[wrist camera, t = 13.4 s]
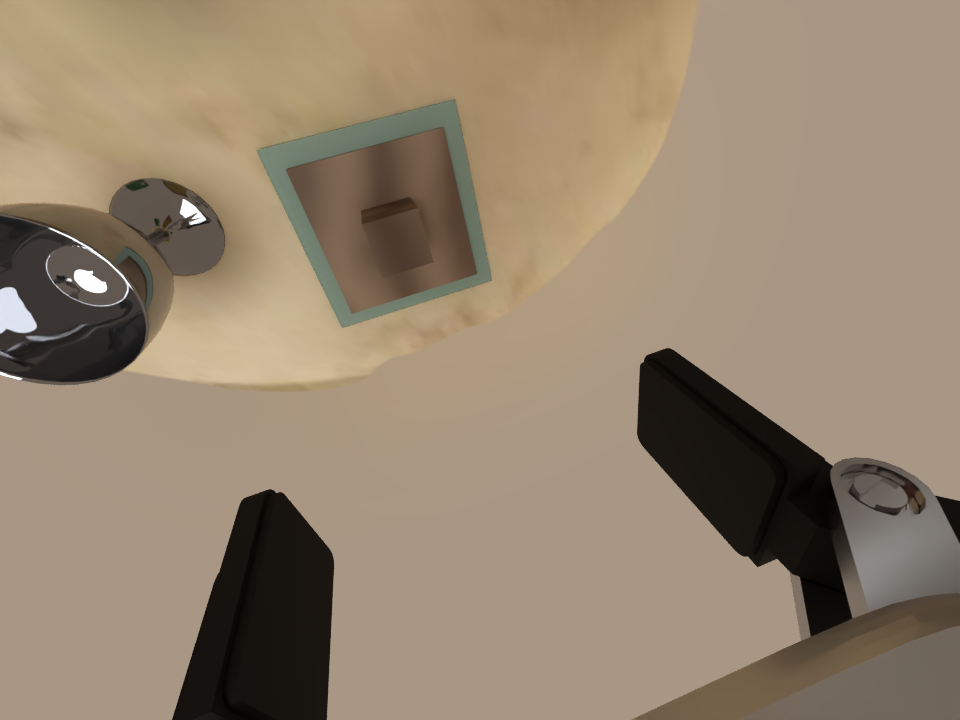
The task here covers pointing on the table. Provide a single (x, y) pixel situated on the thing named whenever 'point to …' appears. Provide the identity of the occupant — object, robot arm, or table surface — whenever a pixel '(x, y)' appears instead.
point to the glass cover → (388, 218)
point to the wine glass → (96, 278)
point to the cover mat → (362, 137)
